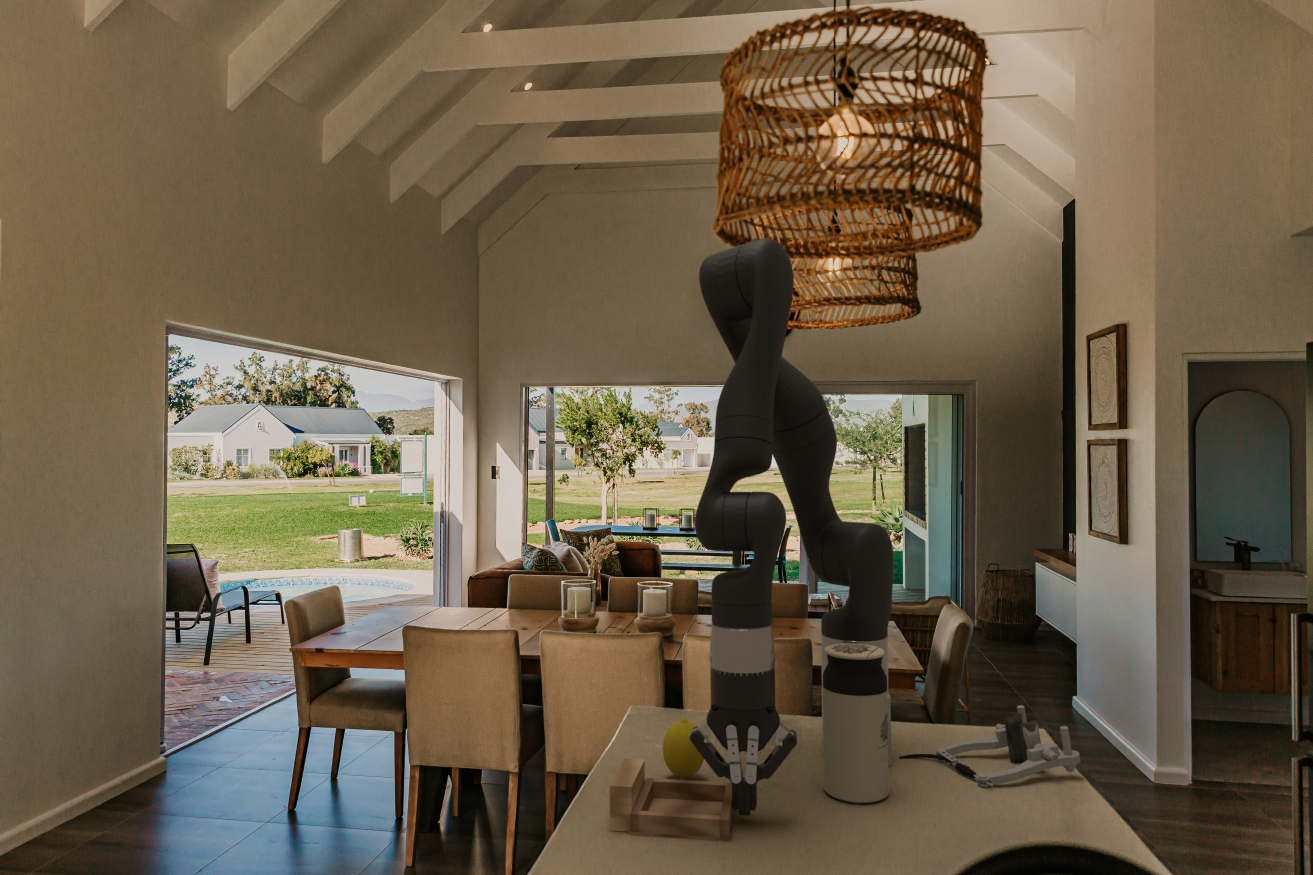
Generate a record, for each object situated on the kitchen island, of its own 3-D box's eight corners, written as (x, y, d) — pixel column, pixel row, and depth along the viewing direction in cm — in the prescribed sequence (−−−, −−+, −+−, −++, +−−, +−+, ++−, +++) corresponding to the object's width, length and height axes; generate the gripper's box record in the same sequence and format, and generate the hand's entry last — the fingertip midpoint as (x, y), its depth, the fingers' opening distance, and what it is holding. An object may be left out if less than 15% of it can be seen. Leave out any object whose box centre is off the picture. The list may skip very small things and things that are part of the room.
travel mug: (812, 794, 105) (811, 650, 106) (840, 776, 112) (838, 640, 112) (873, 810, 100) (871, 659, 101) (898, 789, 107) (896, 647, 107)
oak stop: (644, 800, 103) (644, 759, 104) (631, 831, 95) (631, 786, 95) (624, 799, 104) (624, 758, 104) (609, 830, 95) (609, 785, 95)
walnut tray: (734, 807, 103) (734, 782, 103) (728, 847, 92) (728, 819, 92) (646, 801, 105) (646, 777, 105) (630, 840, 94) (630, 813, 94)
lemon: (701, 789, 107) (701, 726, 107) (659, 786, 108) (659, 723, 108) (707, 773, 112) (707, 713, 113) (667, 770, 114) (667, 711, 114)
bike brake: (1026, 743, 122) (901, 774, 119) (1019, 697, 122) (894, 726, 119) (1091, 778, 109) (952, 814, 105) (1084, 727, 109) (944, 761, 105)
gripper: (799, 656, 101) (801, 802, 100) (689, 654, 102) (691, 797, 102) (800, 671, 93) (803, 829, 93) (682, 668, 95) (684, 823, 95)
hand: (744, 812), depth 97 cm, fingers closed
